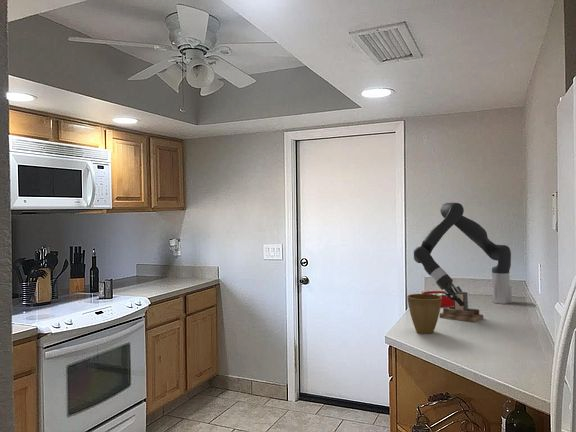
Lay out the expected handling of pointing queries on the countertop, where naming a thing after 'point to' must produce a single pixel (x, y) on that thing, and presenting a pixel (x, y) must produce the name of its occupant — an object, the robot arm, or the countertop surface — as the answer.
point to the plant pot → (424, 311)
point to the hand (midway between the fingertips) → (464, 304)
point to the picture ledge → (461, 314)
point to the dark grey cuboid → (464, 298)
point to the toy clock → (445, 299)
